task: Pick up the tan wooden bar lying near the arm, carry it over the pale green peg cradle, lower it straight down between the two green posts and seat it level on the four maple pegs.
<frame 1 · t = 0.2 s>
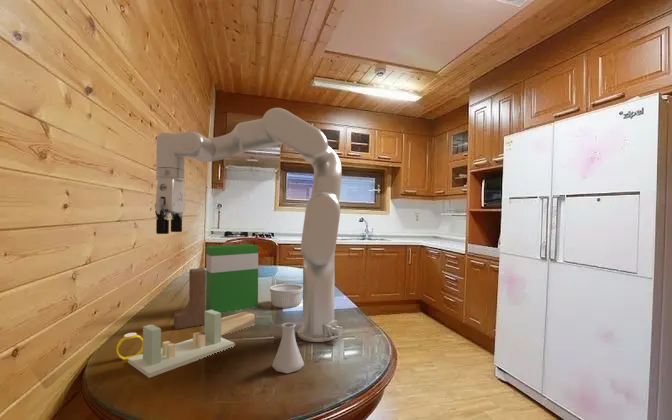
hand: (169, 232, 98), 31 cm above the table, tool pointing down, fingers open, 9 cm apart
wooden block: (189, 326, 107), on the table
flask: (288, 367, 79), on the table
peg cradle: (184, 354, 85), on the table
ramekin: (286, 305, 133), on the table
green cereal box: (232, 308, 127), on the table
tan wooden bar: (233, 330, 104), on the table
watch: (130, 358, 83), on the table
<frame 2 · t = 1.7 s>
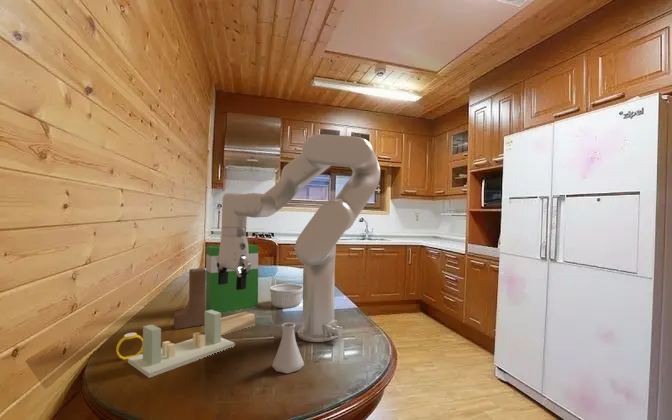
hand: (231, 286, 104), 13 cm above the table, tool pointing down, fingers open, 9 cm apart
nothing on the table moved.
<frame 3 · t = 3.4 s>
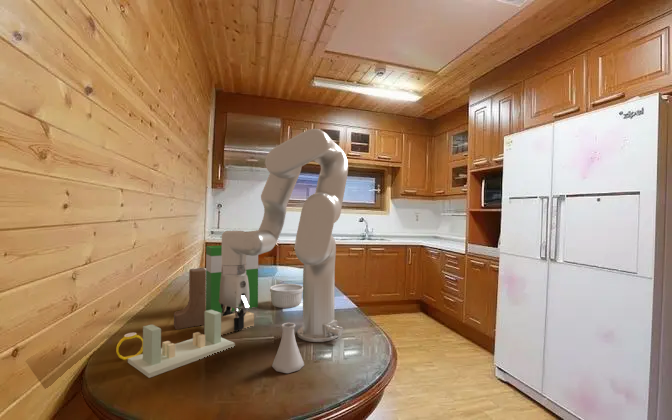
hand: (233, 326, 104), 1 cm above the table, tool pointing down, fingers closed on tan wooden bar, 5 cm apart
tan wooden bar: (233, 329, 104), on the table, touching gripper
everything else where it was.
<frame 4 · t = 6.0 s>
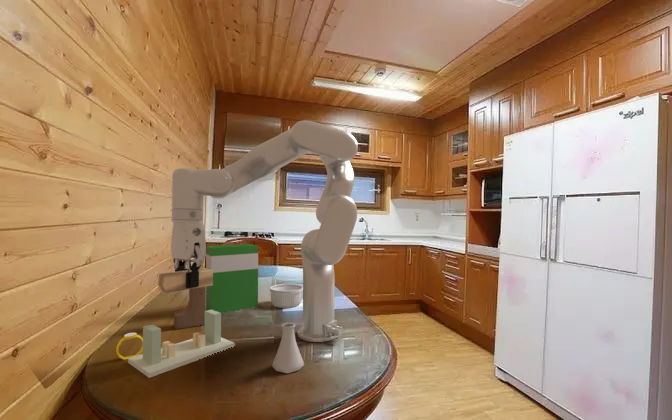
hand: (186, 285, 86), 18 cm above the table, tool pointing down, fingers closed on tan wooden bar, 5 cm apart
tan wooden bar: (186, 287, 86), point 17 cm above the table, touching gripper
everything else where it was.
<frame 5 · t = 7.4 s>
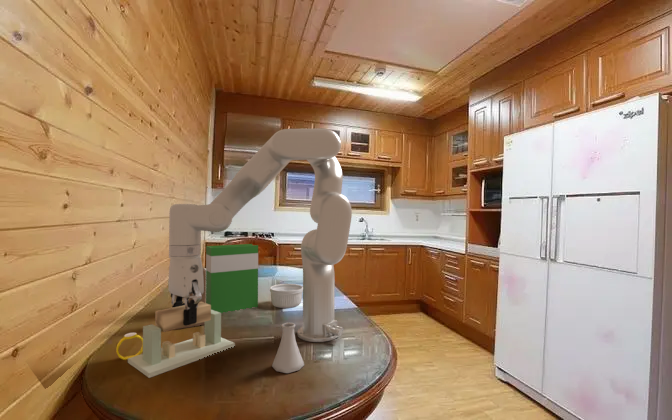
hand: (184, 321, 85), 9 cm above the table, tool pointing down, fingers closed on tan wooden bar, 5 cm apart
tan wooden bar: (183, 323, 85), point 8 cm above the table, touching gripper
everything else where it was.
when the fingers open (5 cm above the table, at t = 8.4 s): tan wooden bar stays where it is, resting on peg cradle.
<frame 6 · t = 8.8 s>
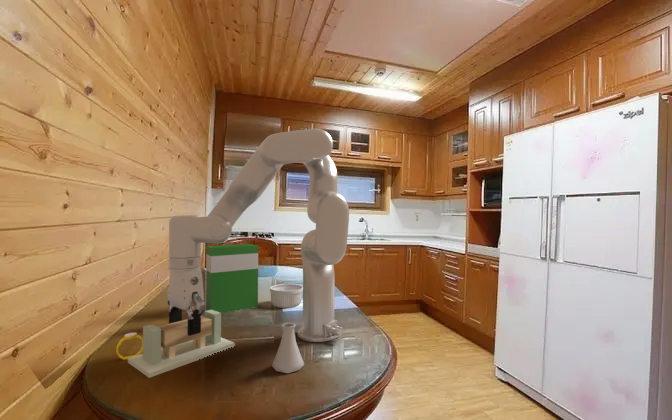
hand: (184, 329, 85), 6 cm above the table, tool pointing down, fingers open, 9 cm apart
tan wooden bar: (184, 338, 85), point 4 cm above the table, touching peg cradle
everything else where it was.
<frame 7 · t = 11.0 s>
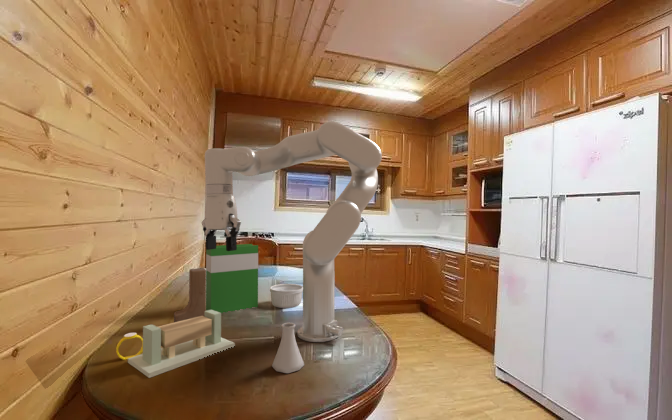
hand: (221, 249, 97), 26 cm above the table, tool pointing down, fingers open, 9 cm apart
nothing on the table moved.
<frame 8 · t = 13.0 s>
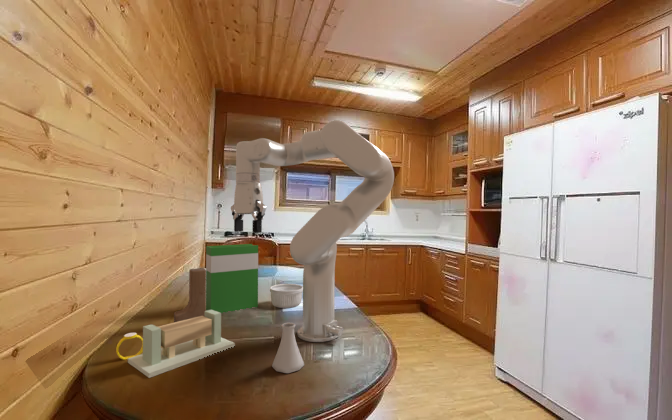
hand: (247, 232, 108), 30 cm above the table, tool pointing down, fingers open, 9 cm apart
nothing on the table moved.
at the end: tan wooden bar 0.1 cm off-centre on the peg cradle, point 4.0 cm above the peg cradle's base; tan wooden bar tilted 0°; the gripper is holding nothing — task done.
